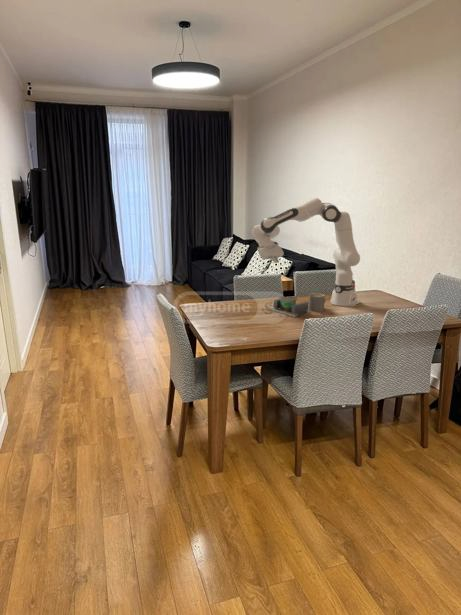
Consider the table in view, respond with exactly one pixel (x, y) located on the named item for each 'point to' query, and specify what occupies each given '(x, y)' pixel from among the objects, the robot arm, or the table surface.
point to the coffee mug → (316, 302)
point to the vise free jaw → (277, 303)
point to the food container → (287, 303)
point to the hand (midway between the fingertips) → (277, 262)
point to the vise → (294, 309)
